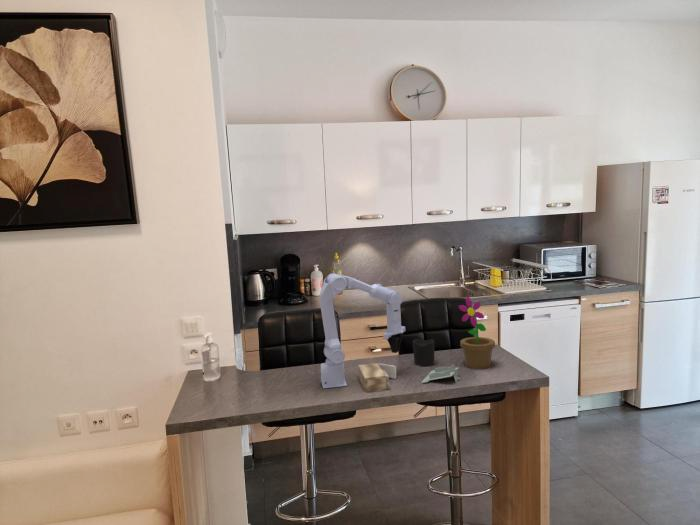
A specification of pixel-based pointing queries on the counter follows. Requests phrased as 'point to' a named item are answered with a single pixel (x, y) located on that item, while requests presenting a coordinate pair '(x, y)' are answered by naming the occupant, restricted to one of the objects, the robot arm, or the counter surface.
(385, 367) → the door
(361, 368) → the beige rectangular block
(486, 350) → the flowerpot
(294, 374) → the counter surface
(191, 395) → the counter surface
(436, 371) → the metal bracket
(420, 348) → the pen holder
